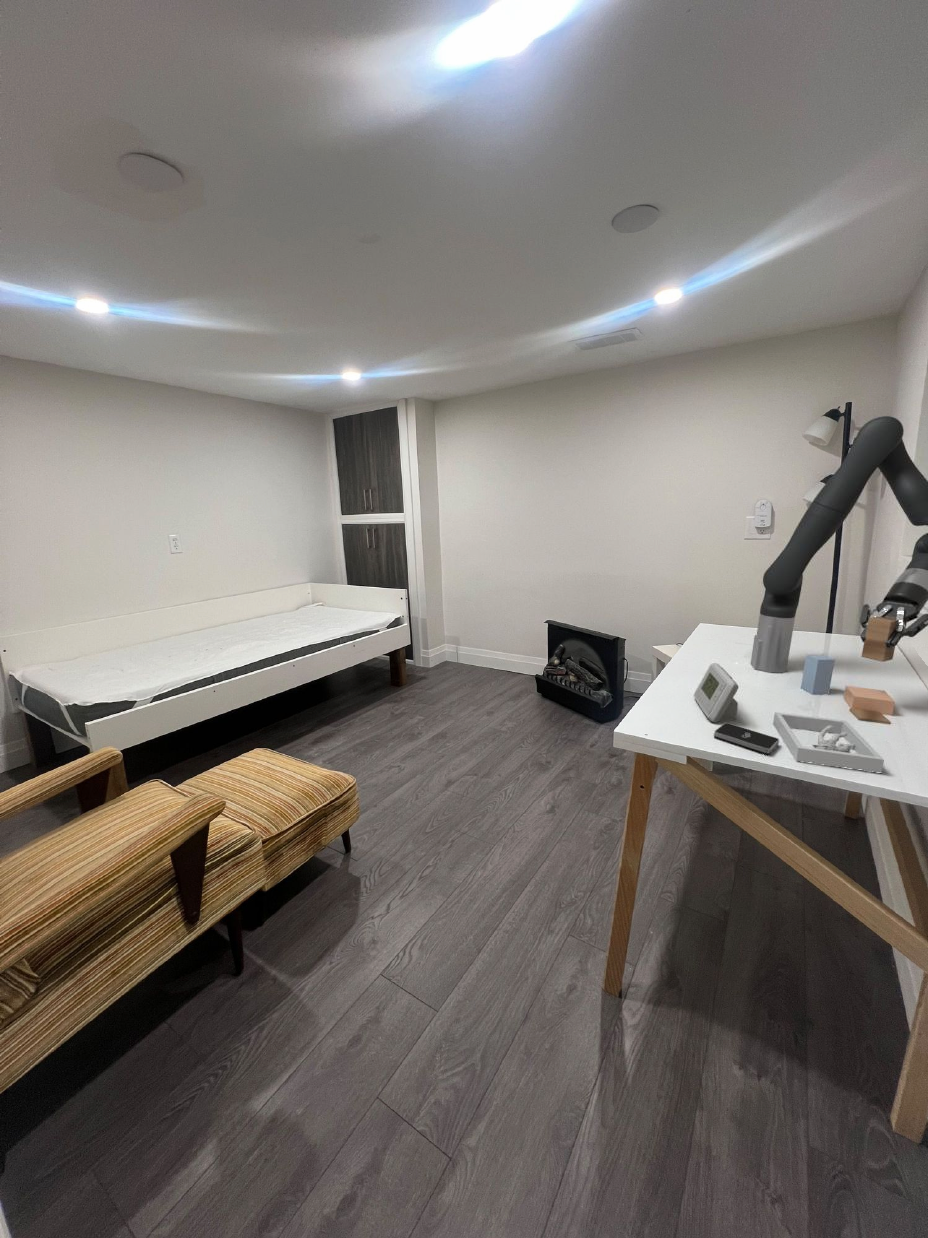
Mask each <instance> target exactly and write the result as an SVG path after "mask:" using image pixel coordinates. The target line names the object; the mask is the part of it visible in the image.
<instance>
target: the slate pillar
mask: <svg viewBox="0 0 928 1238" xmlns="http://www.w3.org/2000/svg"><path fill="white" fill-rule="evenodd" d="M805 655H806V656H805V660H804V667H803V673H802V678H801V679H802V680H801V685H800V689H801V690H802V689H803V690H802V691H804V692H806V693H807V694H810V695H812V696H815V695H816V696H817V695H819V696H822V695H823V694H828V695H829V694H830V688H831V684H832V678H833V677H832V676H833V672H834V666H835V661H836V660H835V659H834V658H832V657H829V656H827V655H825V654H805Z"/></svg>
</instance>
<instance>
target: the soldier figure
mask: <svg viewBox="0 0 928 1238" xmlns="http://www.w3.org/2000/svg"><path fill="white" fill-rule="evenodd" d="M832 727H833V726H832ZM830 728H831V725H830V726H827V727H826V728H825V729H823V730H822V731H821V732H820V733H819V734H818V736H817V744H812V748H818V749H825V750H832V751H839V752H847V753H848V751H849V749H850V748H851V749H853V747H854V746H855V744H853V743H852V744H849V743H847V744H843V745H839V746H837V745H836V744H837V742H839V741H840V739H841V738H843V737H845V736H846V735H847V733H846V732H844V733H841V734H834V735H832V736H831V738H829V739H825V738H824V737H825V735H826V734H827V730H832V729H830Z"/></svg>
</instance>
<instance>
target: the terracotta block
mask: <svg viewBox="0 0 928 1238" xmlns="http://www.w3.org/2000/svg"><path fill="white" fill-rule="evenodd" d="M843 700H844V702H845V703H846V704H847V706H848V707H849V709H850V708H852V709H860V710H869V711H878V712H880V713H881V714H882V715H883V716H889V717H892V716H893V713H894V709H895V708H894V707H895V703H896V701H895V700H894V699H893V698H892V697H891V696H890V695H889V694H888V692H886V690H884V689H875V688H868V687H867V688H866V687H860V686H851V685H845V689H844V695H843Z"/></svg>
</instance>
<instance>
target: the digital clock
mask: <svg viewBox="0 0 928 1238" xmlns="http://www.w3.org/2000/svg"><path fill="white" fill-rule="evenodd" d="M738 690H739V685H738V683H737V682H736V681H735V680H734V679H733V677H732V675H731V674H729V672H727V671H726V669H725V668H723V667H722V666H721V665H720V664H718V663H717V662H713V663H710V665H709V666H708V668H707V670H706V672H705V673H704V675H703V677H702V679H701V681H700V683H699V684H698V686H697V688H696V690H695V691H694V693H693V697H694V700H695V701H696V702H697V704H698V705H699V707H700V709H701V710H702V712H703V713H704V715H705V716H706V718H707V719H708V720H709V722H711V723H718V722H720V720H729V721H730V720H731V721H735V720H737V716H738V715H737V714H738V708H739V704H738V702H737V700H736V699H735V698H734V697H735V695H736V694H737V692H738Z"/></svg>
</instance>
